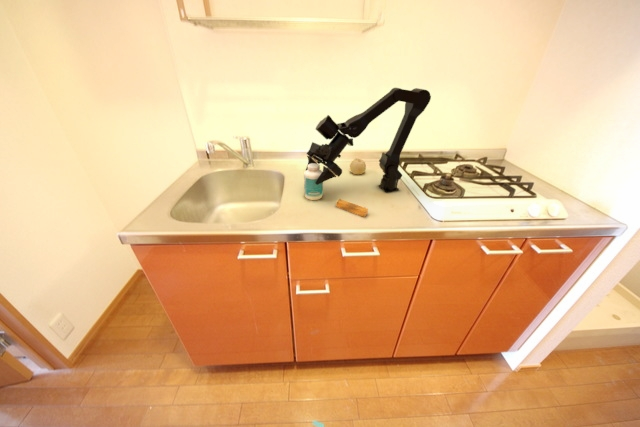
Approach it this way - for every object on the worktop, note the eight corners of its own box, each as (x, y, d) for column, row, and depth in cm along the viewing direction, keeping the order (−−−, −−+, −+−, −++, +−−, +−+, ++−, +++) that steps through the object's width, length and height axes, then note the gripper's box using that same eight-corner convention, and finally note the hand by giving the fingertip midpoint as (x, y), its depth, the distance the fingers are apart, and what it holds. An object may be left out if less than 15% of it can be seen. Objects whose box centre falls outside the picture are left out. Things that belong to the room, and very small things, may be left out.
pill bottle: (326, 197, 93) (327, 166, 86) (311, 202, 89) (311, 170, 82) (315, 190, 98) (315, 160, 91) (301, 195, 94) (300, 164, 87)
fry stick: (336, 206, 87) (336, 201, 86) (339, 204, 89) (339, 198, 87) (364, 217, 81) (365, 211, 80) (367, 214, 83) (368, 208, 82)
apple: (349, 168, 119) (358, 155, 116) (361, 177, 117) (370, 165, 114) (344, 168, 112) (353, 155, 109) (357, 178, 110) (366, 165, 107)
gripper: (310, 128, 89) (286, 160, 90) (337, 140, 75) (308, 177, 77) (327, 146, 96) (304, 175, 98) (353, 159, 83) (327, 193, 84)
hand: (310, 179), depth 89 cm, fingers open, 9 cm apart
